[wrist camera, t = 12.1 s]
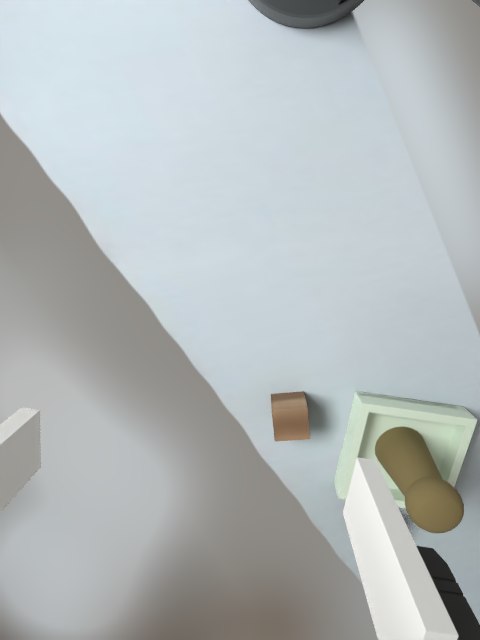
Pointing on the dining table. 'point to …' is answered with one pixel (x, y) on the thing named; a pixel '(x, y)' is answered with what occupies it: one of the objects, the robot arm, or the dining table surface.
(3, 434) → the robot arm
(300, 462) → the dining table surface
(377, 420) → the tray
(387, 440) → the olive tall rounded piece
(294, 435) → the walnut cube
